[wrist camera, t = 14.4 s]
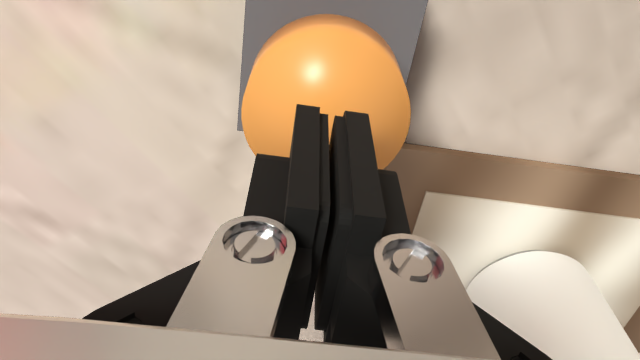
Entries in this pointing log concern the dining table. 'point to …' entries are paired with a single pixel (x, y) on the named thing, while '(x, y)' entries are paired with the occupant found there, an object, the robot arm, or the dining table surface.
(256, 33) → the button base
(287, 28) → the button
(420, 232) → the sketch board
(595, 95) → the dining table surface
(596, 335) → the can
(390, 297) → the robot arm
